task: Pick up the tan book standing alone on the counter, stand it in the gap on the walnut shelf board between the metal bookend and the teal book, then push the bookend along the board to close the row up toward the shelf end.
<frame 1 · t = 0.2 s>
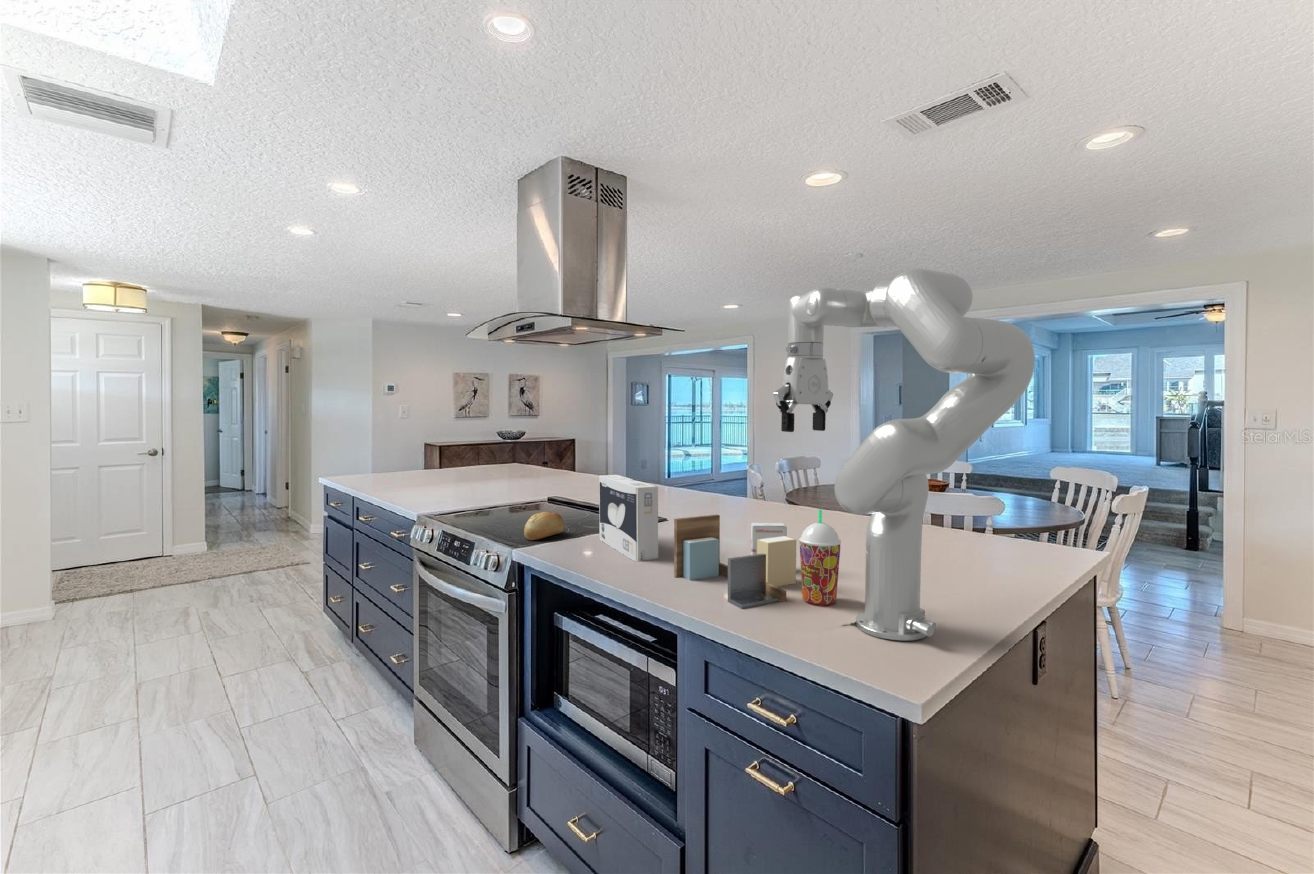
hand: (803, 431, 130), 36 cm above the table, tool pointing down, fingers open, 9 cm apart
tan book: (776, 586, 136), on the table
ink box: (768, 570, 149), on the table
bread roll: (545, 537, 188), on the table
teal book: (701, 577, 141), point 1 cm above the table, touching shelf
smoothie: (819, 606, 123), on the table
shelf: (726, 591, 132), on the table
bookend: (752, 580, 122), point 5 cm above the table, slide at 0.0 cm
packaging: (626, 550, 171), on the table
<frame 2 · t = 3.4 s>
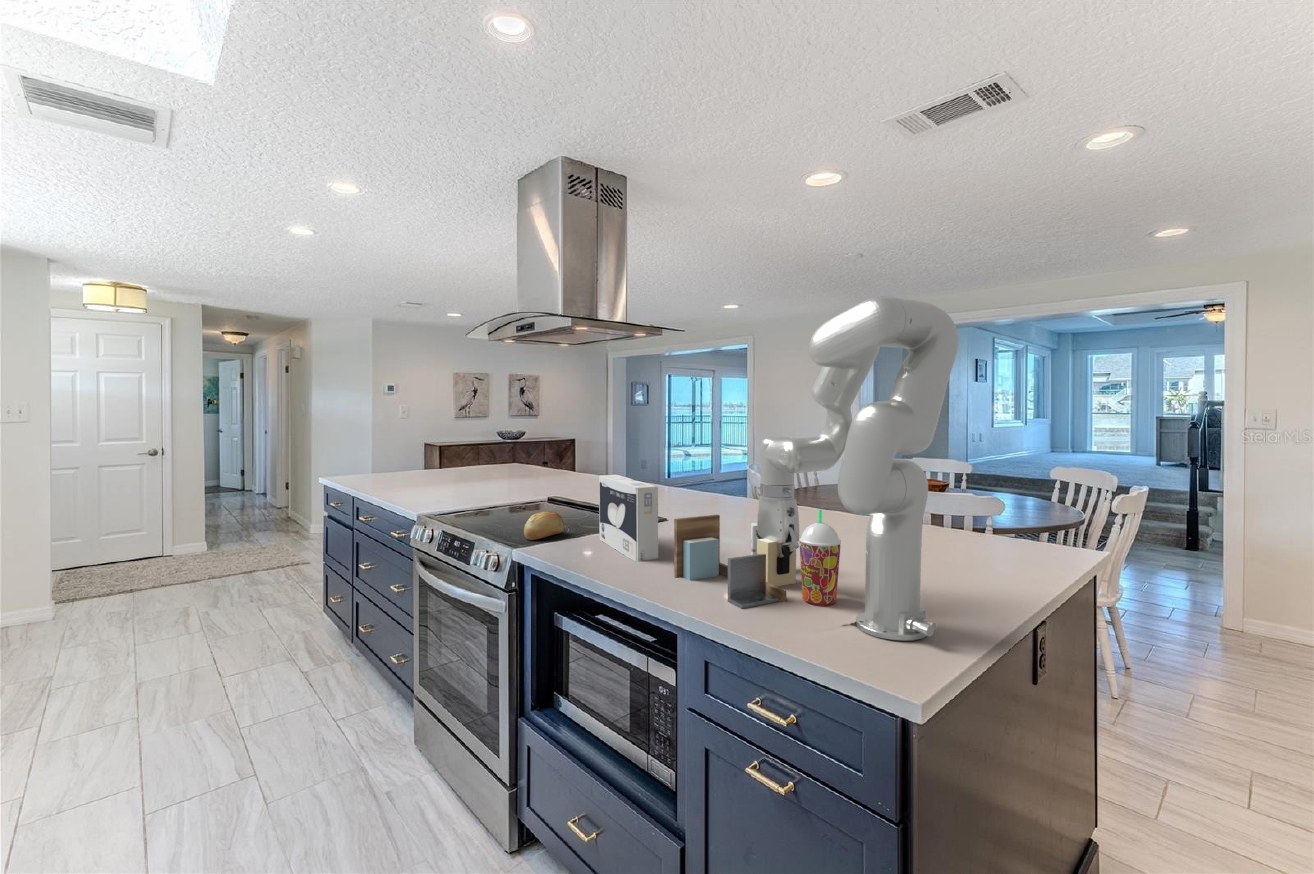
hand: (776, 570, 135), 4 cm above the table, tool pointing down, fingers closed on tan book, 4 cm apart
tan book: (776, 586, 136), on the table, touching gripper
everything else where it was.
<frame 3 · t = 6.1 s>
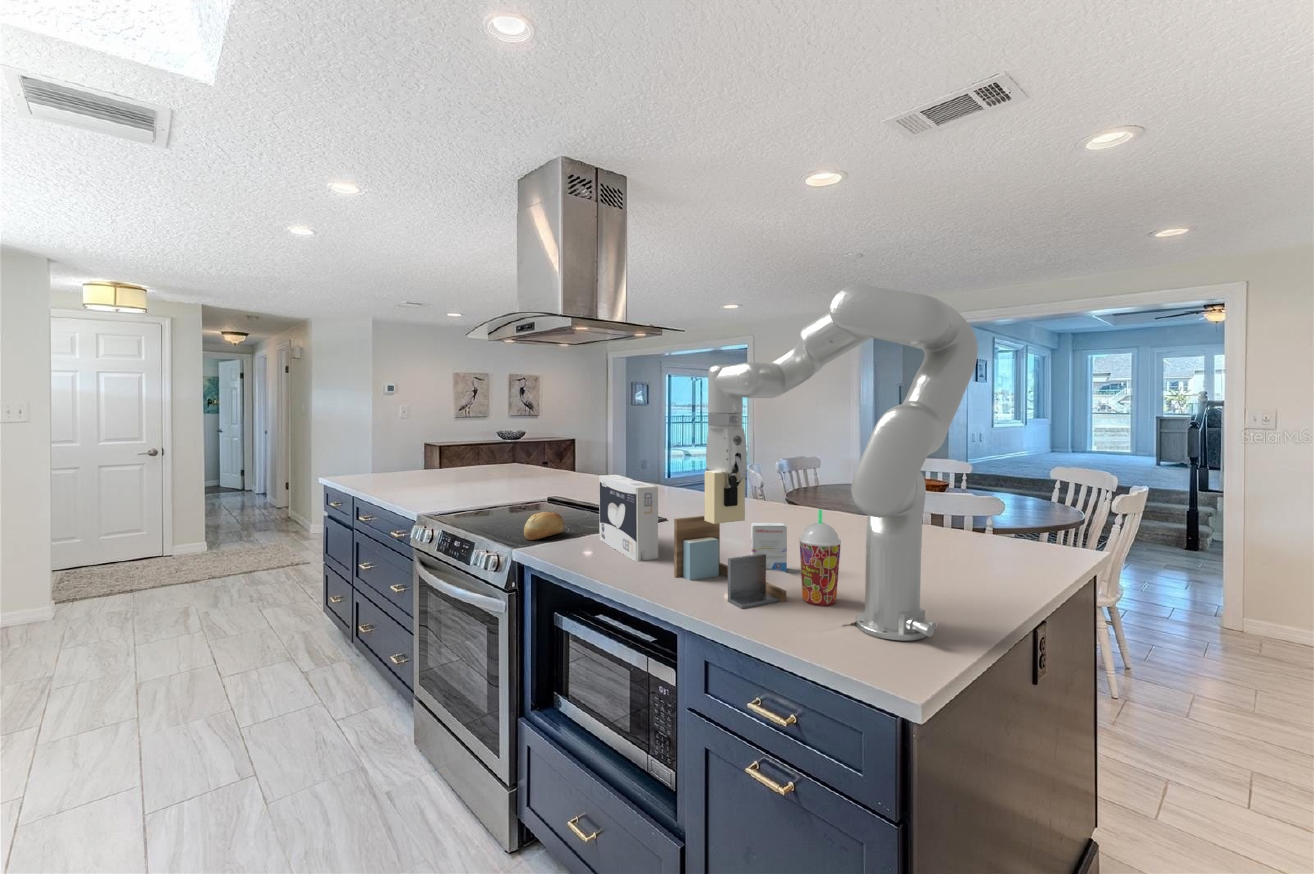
hand: (724, 503, 131), 20 cm above the table, tool pointing down, fingers closed on tan book, 4 cm apart
tan book: (724, 520, 131), point 16 cm above the table, touching gripper
everything else where it was.
when the fingers open (6 cm above the table, at t = 8.8 s): tan book drops 1 cm, resting on shelf.
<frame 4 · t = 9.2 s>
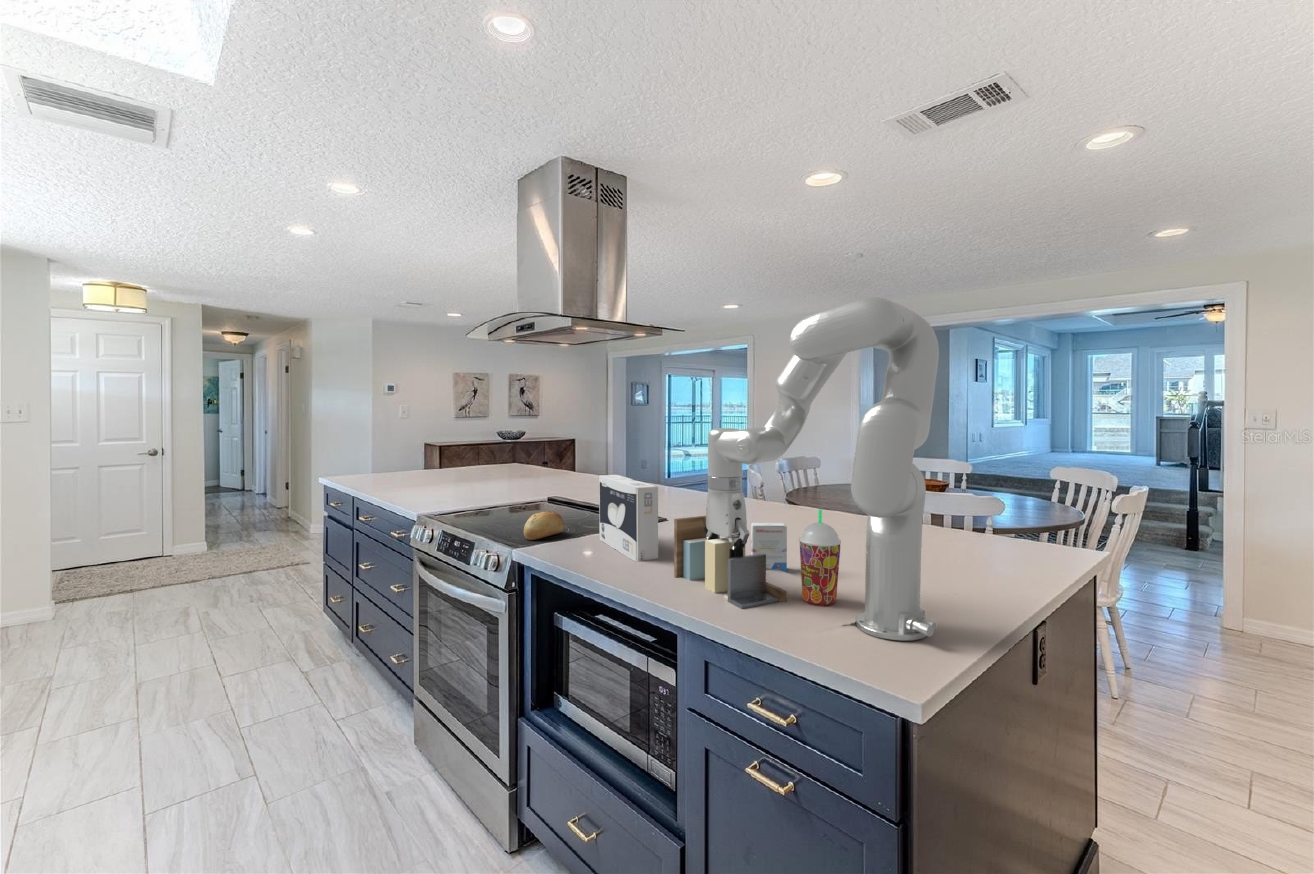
hand: (724, 561, 132), 7 cm above the table, tool pointing down, fingers open, 8 cm apart
tan book: (725, 589, 132), point 1 cm above the table, touching shelf
everything else where it was.
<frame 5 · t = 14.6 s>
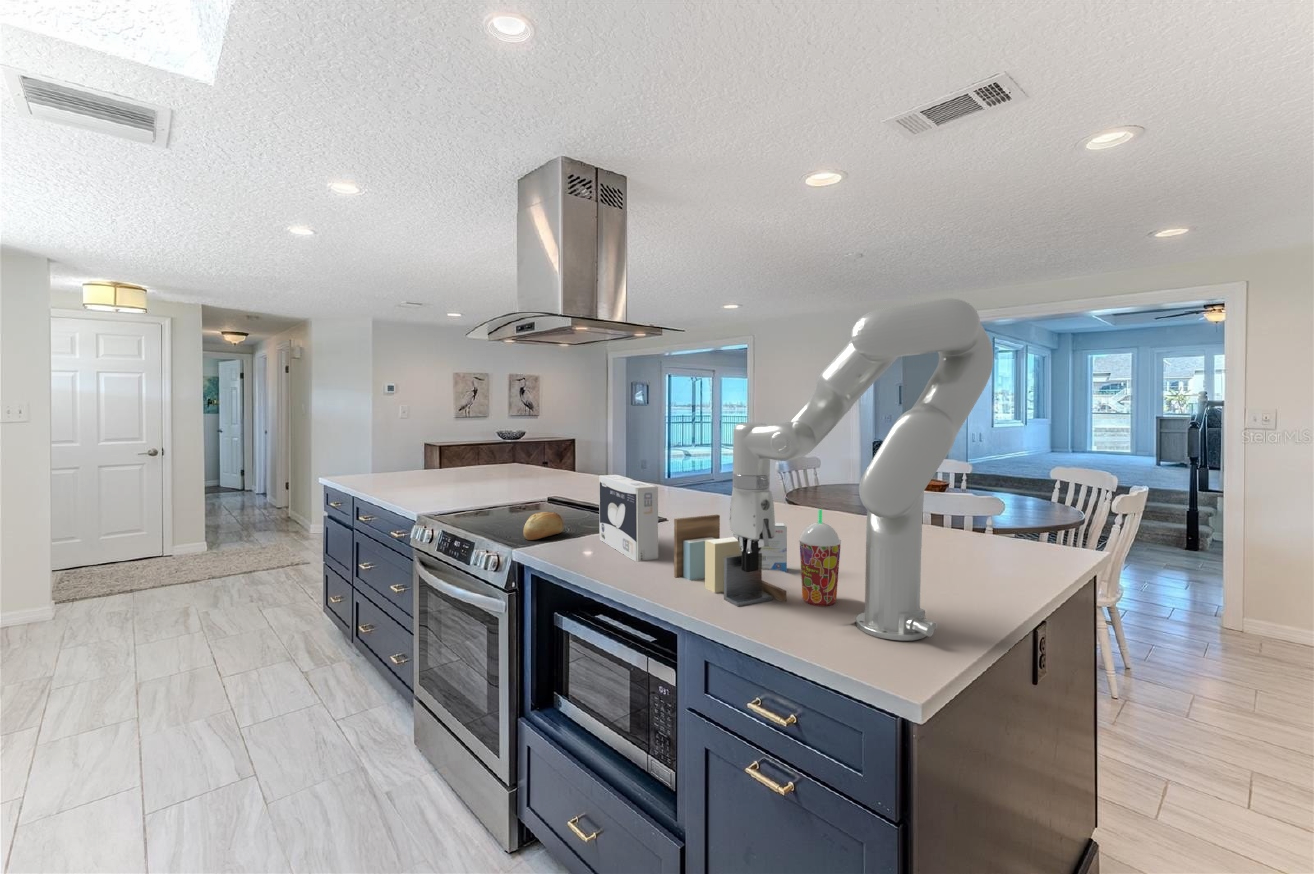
hand: (749, 570, 123), 7 cm above the table, tool pointing down, fingers closed
bookend: (748, 578, 124), point 5 cm above the table, slide at 1.5 cm, touching gripper
everything else where it was.
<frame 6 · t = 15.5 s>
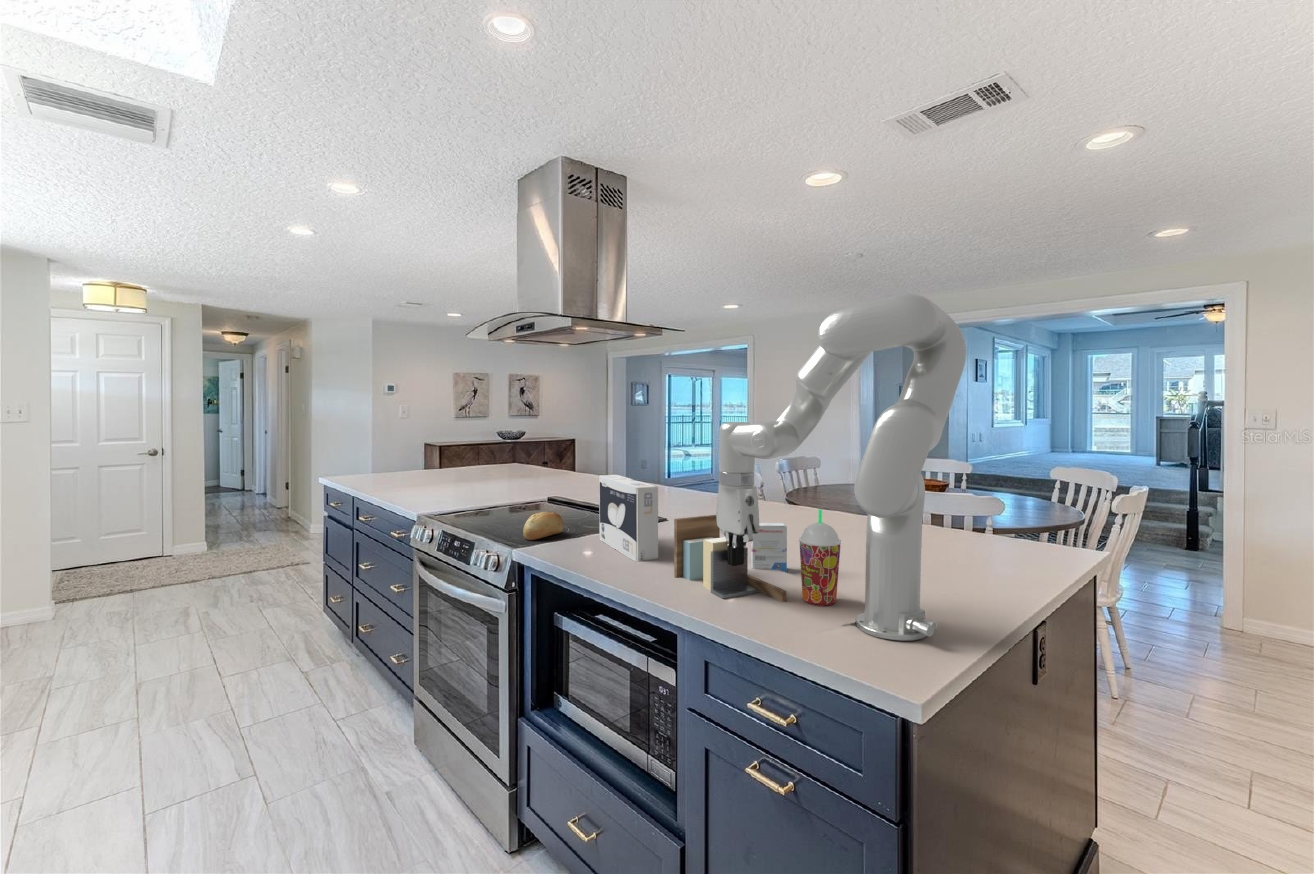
hand: (735, 564, 128), 7 cm above the table, tool pointing down, fingers closed
tan book: (723, 588, 133), point 1 cm above the table, touching bookend, shelf
bookend: (734, 572, 128), point 5 cm above the table, slide at 6.6 cm, touching gripper, tan book
everything else where it was.
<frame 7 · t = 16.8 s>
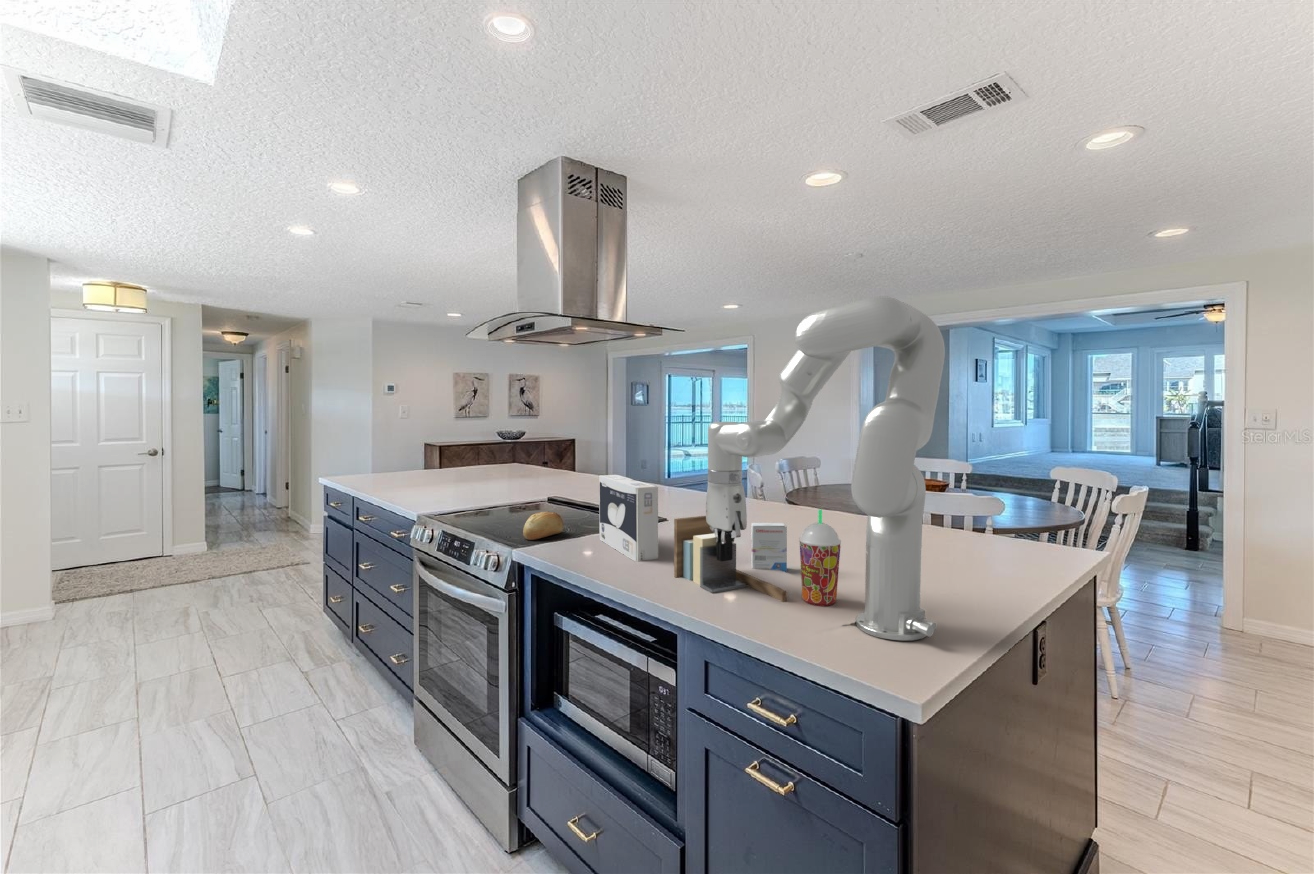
hand: (724, 559, 132), 7 cm above the table, tool pointing down, fingers closed
tan book: (712, 582, 137), point 1 cm above the table, touching bookend, shelf
bookend: (723, 567, 132), point 5 cm above the table, slide at 11.0 cm, touching gripper, tan book
everything else where it was.
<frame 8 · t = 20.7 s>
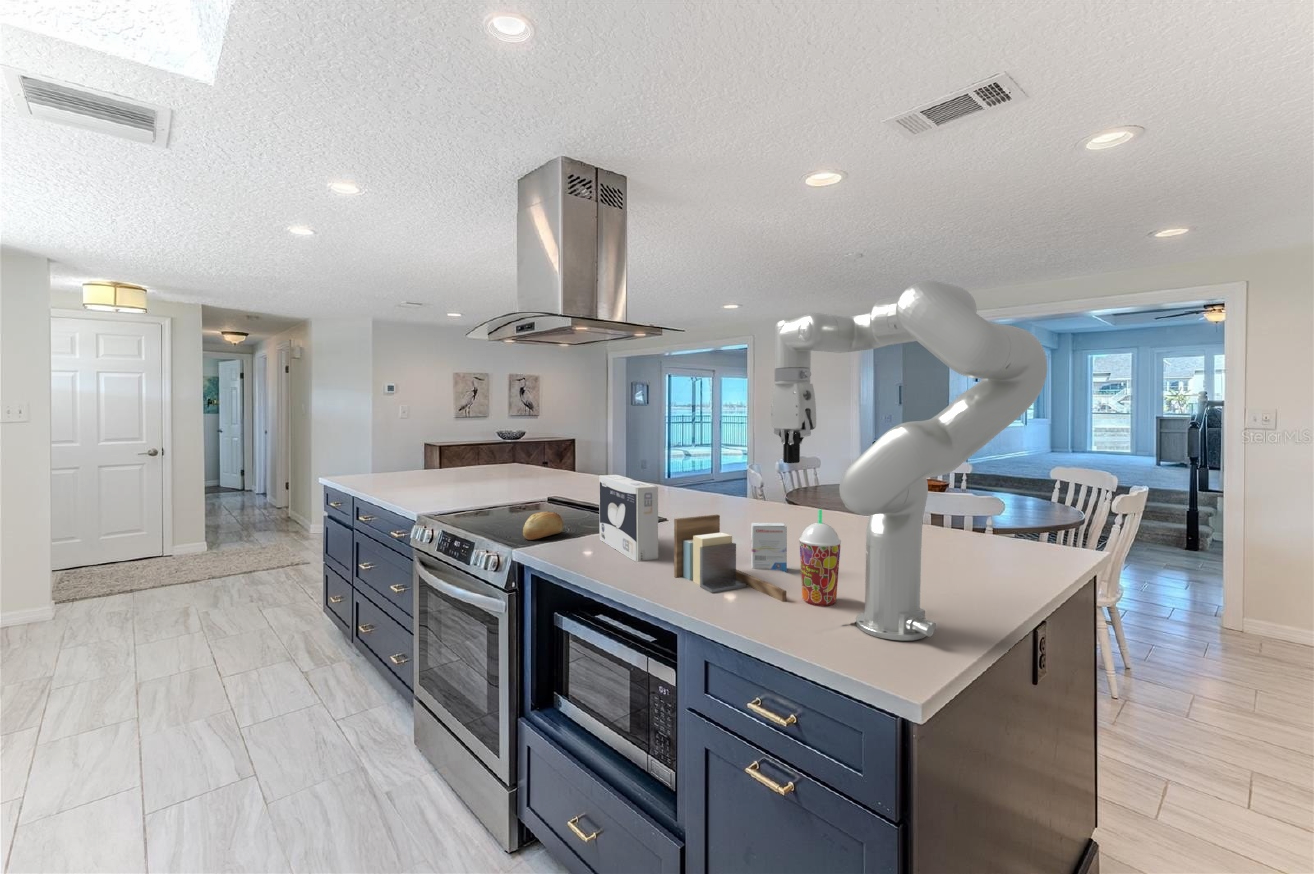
hand: (791, 462, 128), 29 cm above the table, tool pointing down, fingers closed
bookend: (723, 567, 132), point 5 cm above the table, slide at 11.1 cm, touching tan book
everything else where it was.
at the end: tan book inside the target area (0.7 cm from its centre), point 0.6 cm above the table; tan book tilted 0°; bookend slide at 11.1 cm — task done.
